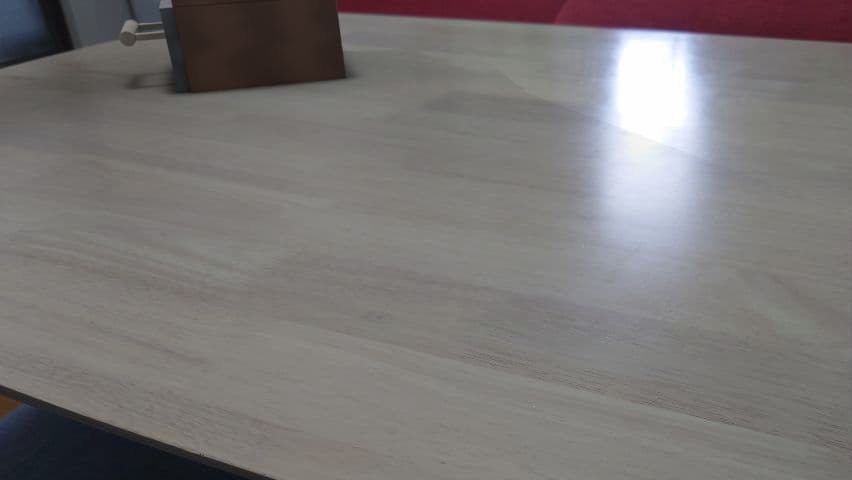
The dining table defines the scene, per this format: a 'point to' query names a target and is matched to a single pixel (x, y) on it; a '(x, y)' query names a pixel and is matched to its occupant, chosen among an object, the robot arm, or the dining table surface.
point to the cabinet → (258, 42)
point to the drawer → (170, 34)
